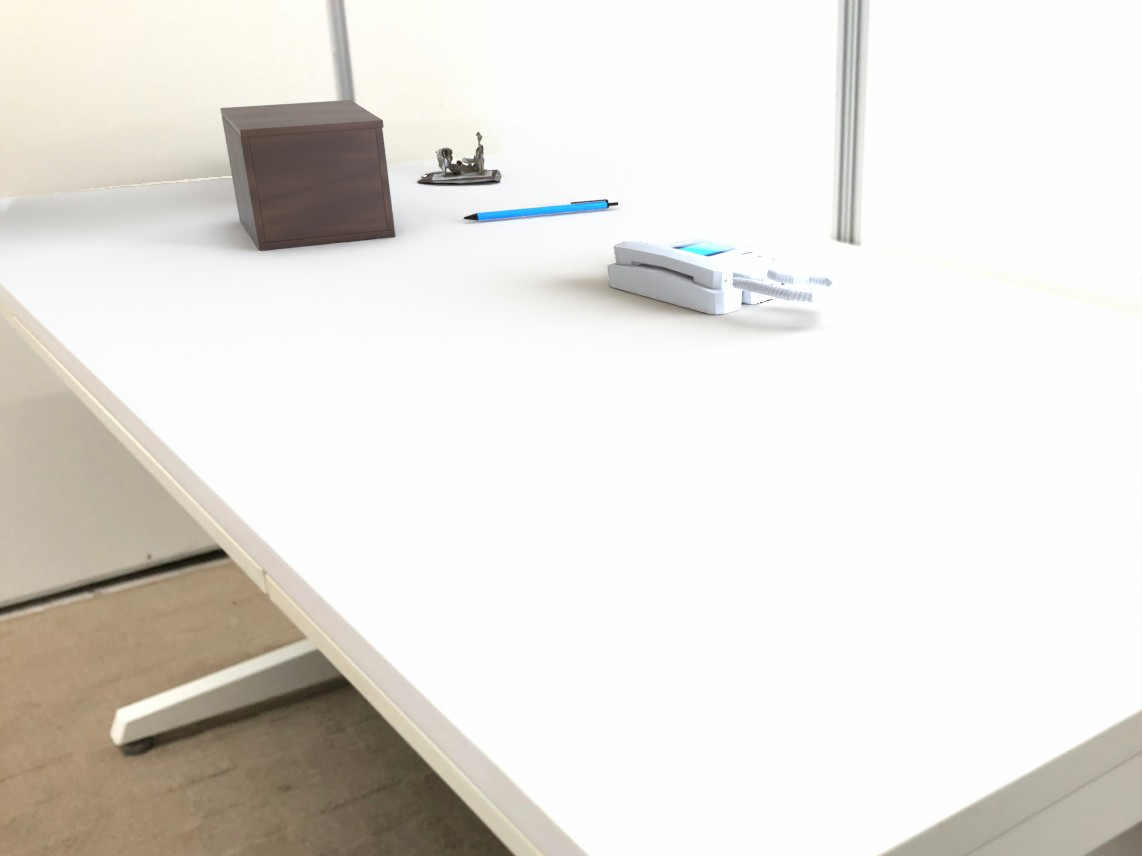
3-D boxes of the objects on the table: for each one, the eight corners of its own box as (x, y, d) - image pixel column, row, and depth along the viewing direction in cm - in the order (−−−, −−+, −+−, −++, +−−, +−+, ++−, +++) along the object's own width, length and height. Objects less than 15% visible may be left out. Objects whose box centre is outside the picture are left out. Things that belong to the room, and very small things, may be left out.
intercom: (797, 288, 110) (601, 240, 125) (796, 338, 111) (603, 285, 127) (893, 259, 118) (699, 218, 134) (891, 306, 120) (700, 260, 135)
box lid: (383, 127, 140) (383, 119, 139) (241, 137, 134) (239, 129, 134) (351, 106, 154) (350, 99, 153) (221, 115, 148) (220, 107, 148)
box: (395, 236, 146) (382, 126, 140) (259, 250, 140) (240, 136, 135) (365, 208, 159) (351, 107, 154) (239, 220, 153) (221, 115, 148)
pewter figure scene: (394, 168, 176) (457, 128, 180) (419, 211, 180) (480, 170, 184) (430, 170, 167) (496, 127, 171) (456, 215, 171) (520, 172, 174)
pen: (619, 208, 158) (618, 198, 158) (463, 222, 151) (462, 213, 151) (616, 206, 159) (616, 197, 158) (461, 221, 152) (460, 211, 152)
